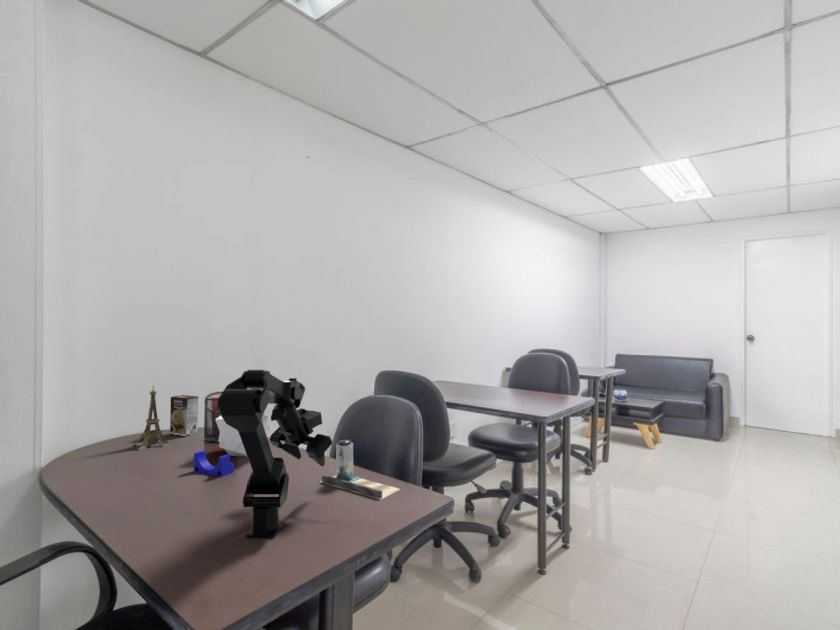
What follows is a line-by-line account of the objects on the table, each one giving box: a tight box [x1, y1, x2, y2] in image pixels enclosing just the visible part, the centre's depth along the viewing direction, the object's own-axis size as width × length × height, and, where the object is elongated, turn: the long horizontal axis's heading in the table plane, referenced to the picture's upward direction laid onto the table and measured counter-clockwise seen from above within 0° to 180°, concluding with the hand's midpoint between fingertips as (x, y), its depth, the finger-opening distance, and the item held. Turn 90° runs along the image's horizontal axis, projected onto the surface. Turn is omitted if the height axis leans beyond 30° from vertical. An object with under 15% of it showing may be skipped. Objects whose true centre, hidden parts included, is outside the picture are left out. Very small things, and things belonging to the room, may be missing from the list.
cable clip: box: [193, 450, 235, 477], centre depth 141 cm, size 12×4×6 cm, turn 68°
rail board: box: [320, 474, 401, 501], centre depth 127 cm, size 23×9×3 cm, turn 56°
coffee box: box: [169, 394, 199, 434], centre depth 188 cm, size 9×6×16 cm
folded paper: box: [215, 413, 271, 458], centre depth 161 cm, size 17×24×17 cm
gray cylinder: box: [335, 439, 354, 481], centre depth 133 cm, size 5×5×11 cm
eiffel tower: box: [136, 386, 169, 448], centre depth 171 cm, size 11×11×25 cm
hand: (311, 461), depth 125 cm, fingers open, 9 cm apart
